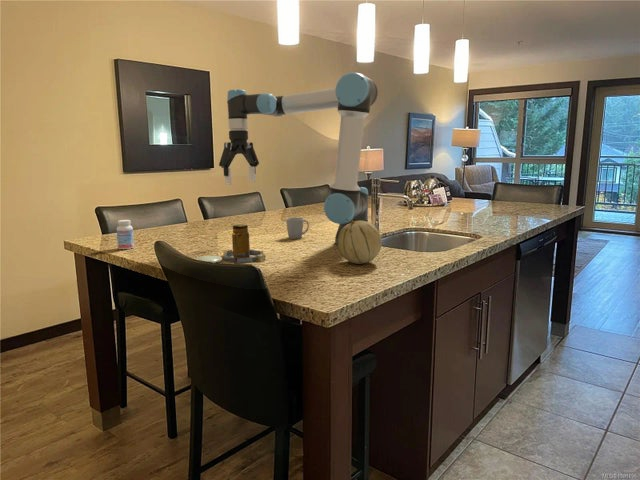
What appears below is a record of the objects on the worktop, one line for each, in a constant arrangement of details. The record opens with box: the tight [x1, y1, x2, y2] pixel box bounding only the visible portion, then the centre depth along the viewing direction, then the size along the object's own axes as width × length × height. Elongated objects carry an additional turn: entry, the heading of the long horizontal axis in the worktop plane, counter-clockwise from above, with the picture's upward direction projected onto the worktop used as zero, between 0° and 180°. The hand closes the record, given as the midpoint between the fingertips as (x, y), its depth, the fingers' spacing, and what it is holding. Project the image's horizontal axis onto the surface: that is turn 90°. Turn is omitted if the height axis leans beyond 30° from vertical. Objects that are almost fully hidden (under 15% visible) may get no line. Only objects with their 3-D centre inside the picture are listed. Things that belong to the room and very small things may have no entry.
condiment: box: [231, 223, 256, 258], centre depth 170 cm, size 7×8×12 cm
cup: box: [285, 216, 310, 240], centre depth 209 cm, size 8×10×8 cm
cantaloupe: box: [337, 221, 383, 265], centre depth 161 cm, size 15×15×15 cm
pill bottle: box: [116, 219, 135, 251], centre depth 189 cm, size 6×6×11 cm
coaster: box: [194, 255, 223, 263], centre depth 168 cm, size 10×10×1 cm
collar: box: [223, 248, 266, 264], centre depth 171 cm, size 18×14×2 cm
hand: (240, 183), depth 195 cm, fingers open, 13 cm apart
